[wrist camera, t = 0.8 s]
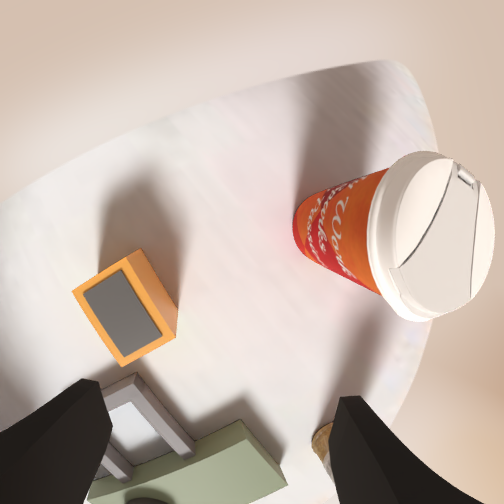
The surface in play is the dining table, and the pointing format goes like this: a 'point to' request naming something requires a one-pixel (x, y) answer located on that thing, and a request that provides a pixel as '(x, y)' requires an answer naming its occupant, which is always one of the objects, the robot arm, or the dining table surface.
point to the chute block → (129, 308)
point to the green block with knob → (184, 461)
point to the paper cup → (404, 234)
